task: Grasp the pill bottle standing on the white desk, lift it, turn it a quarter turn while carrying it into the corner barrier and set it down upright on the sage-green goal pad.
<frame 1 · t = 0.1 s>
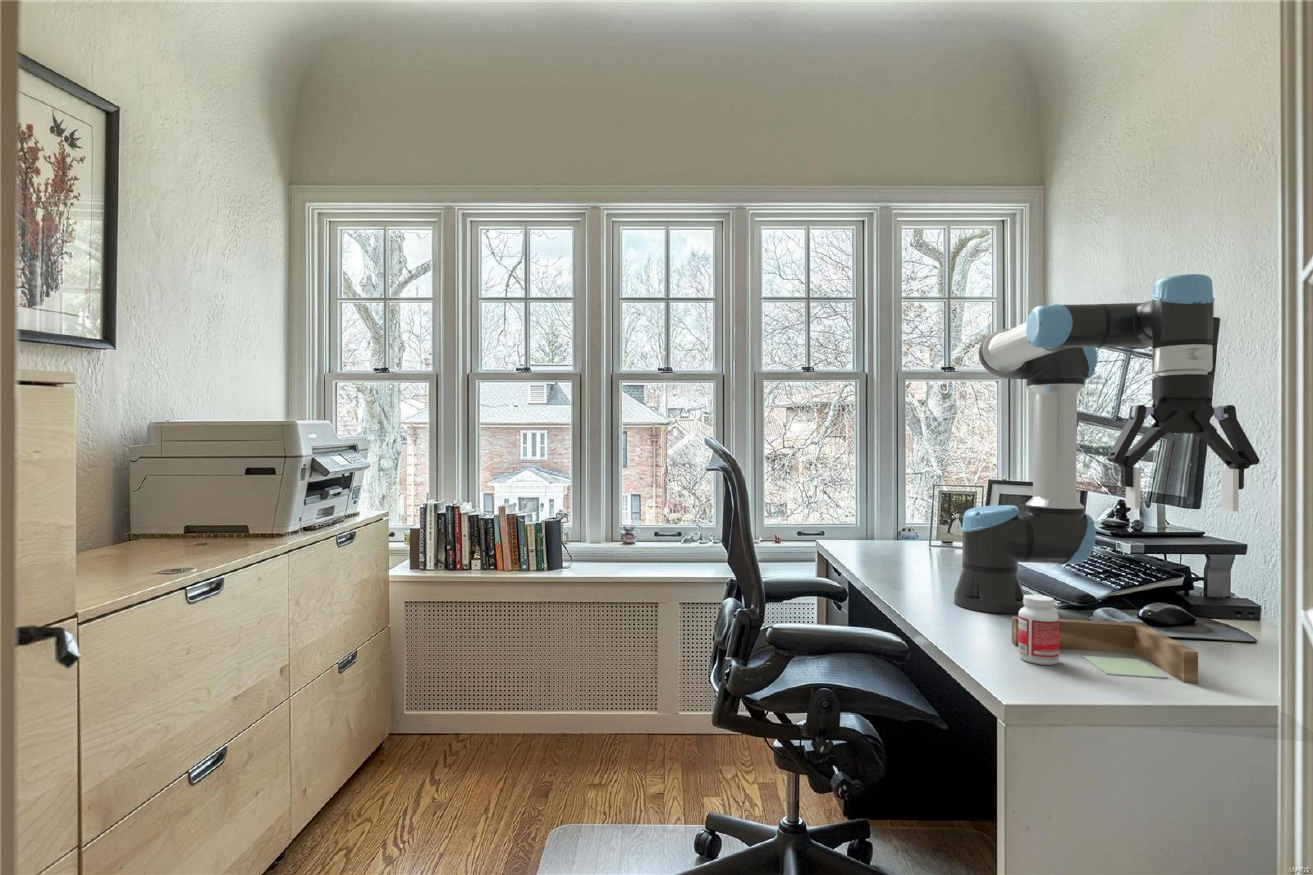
hand: (1180, 509, 104), 28 cm above the table, fingers open, 13 cm apart
corner barrier: (1095, 660, 117), on the table
goal pad: (1122, 667, 113), on the table
pill bottle: (1038, 661, 116), on the table
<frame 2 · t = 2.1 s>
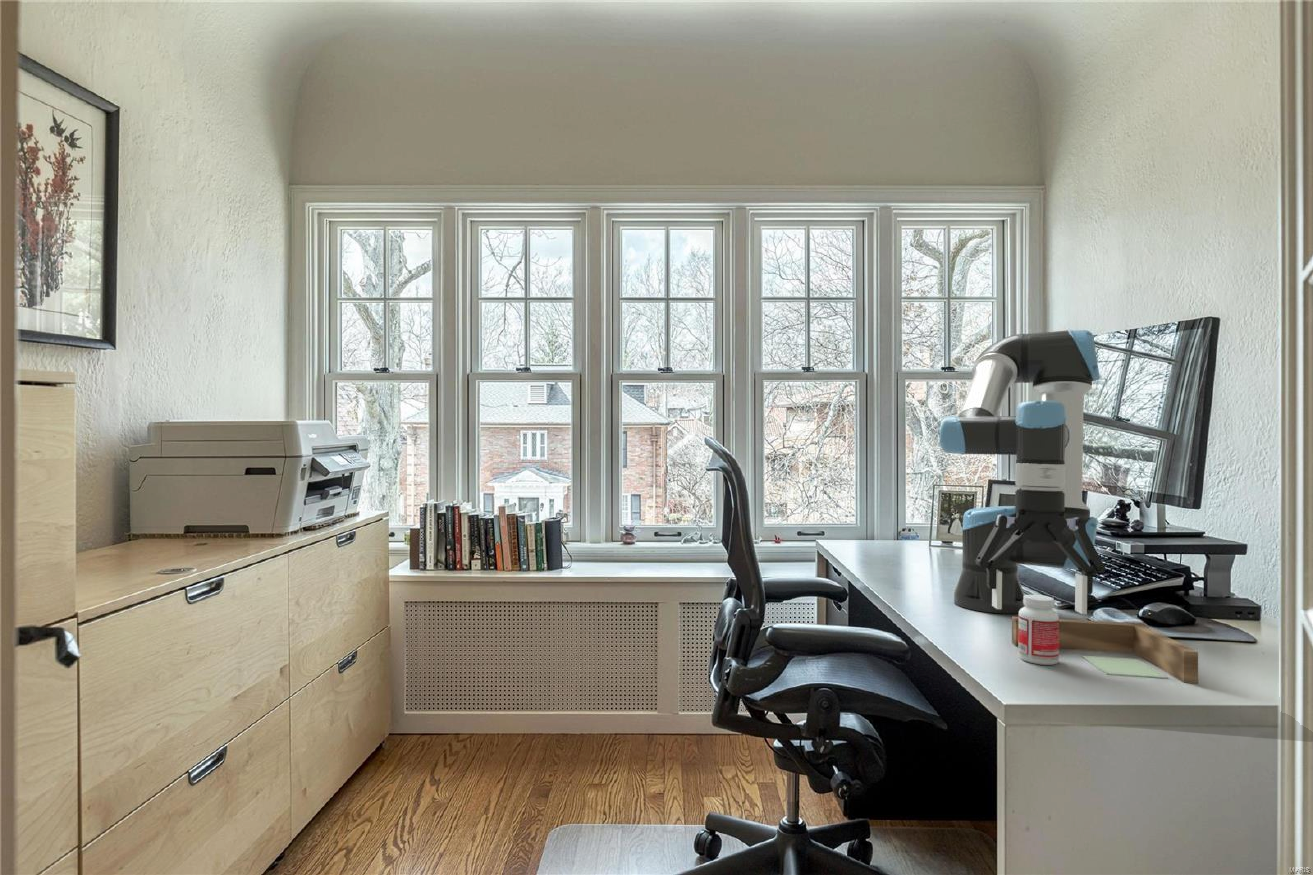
hand: (1038, 610, 116), 9 cm above the table, fingers open, 13 cm apart
nothing on the table moved.
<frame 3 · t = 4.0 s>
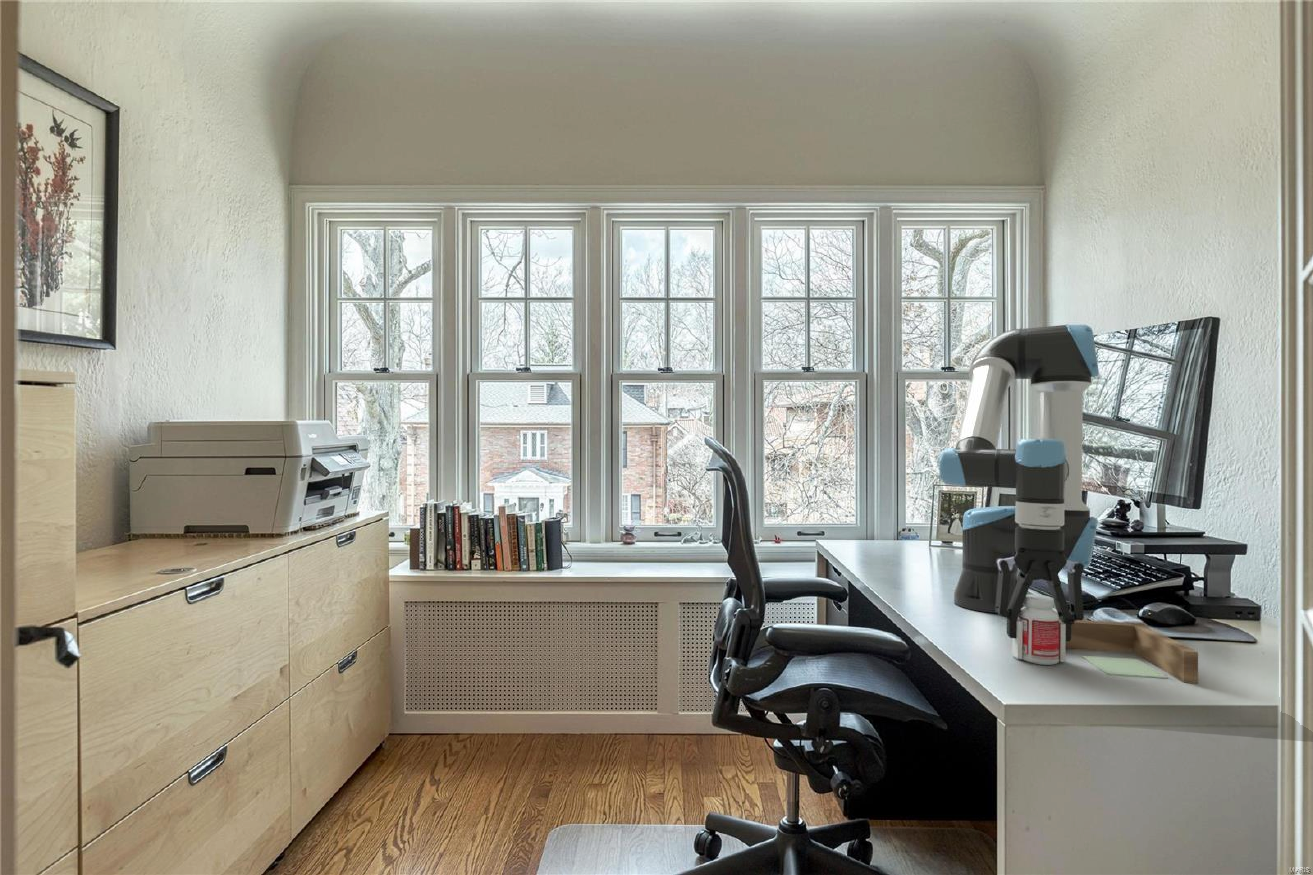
hand: (1038, 657, 116), 0 cm above the table, fingers closed on pill bottle, 6 cm apart
pill bottle: (1038, 661, 116), on the table, touching gripper
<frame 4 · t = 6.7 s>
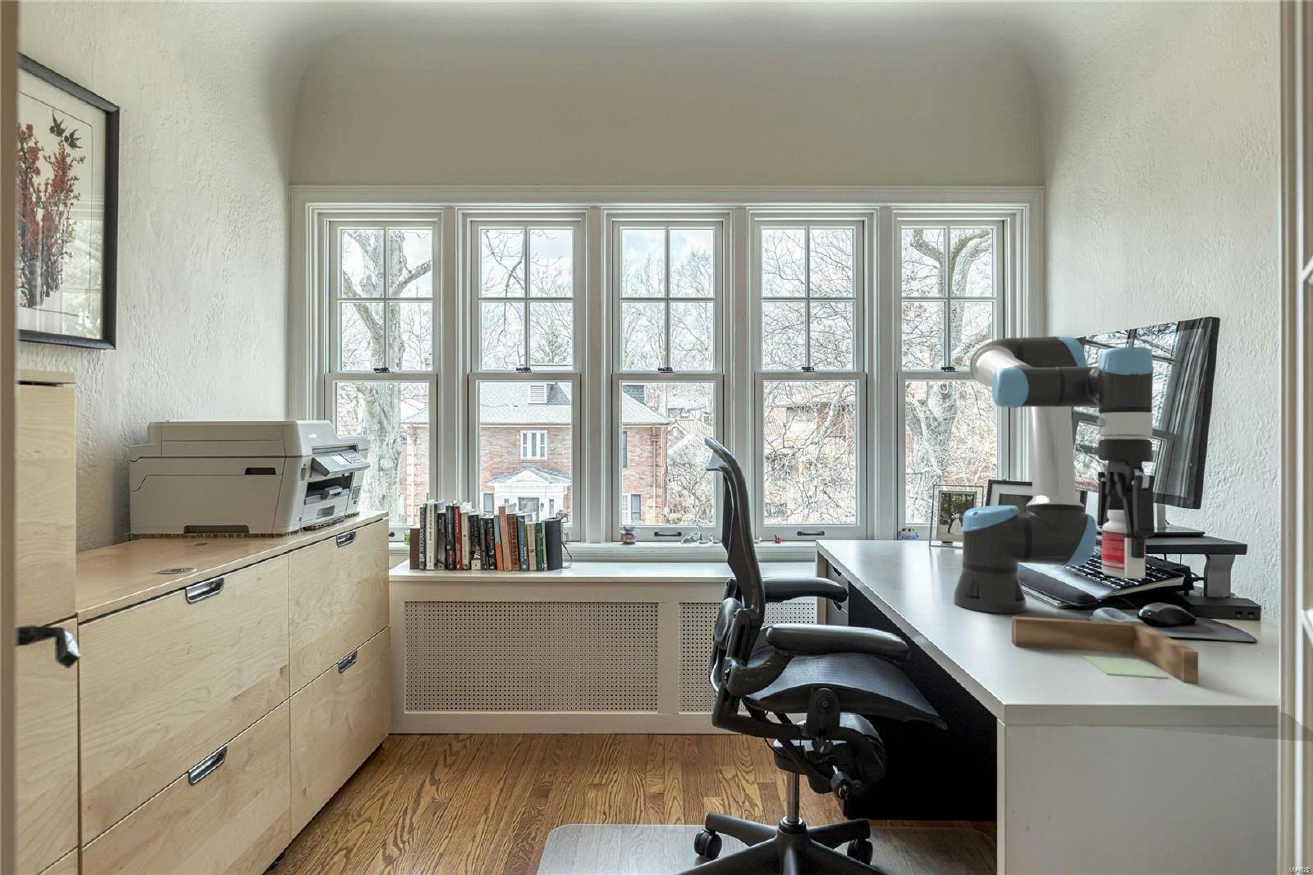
hand: (1123, 573, 113), 16 cm above the table, fingers closed on pill bottle, 6 cm apart
pill bottle: (1123, 576, 113), point 15 cm above the table, touching gripper
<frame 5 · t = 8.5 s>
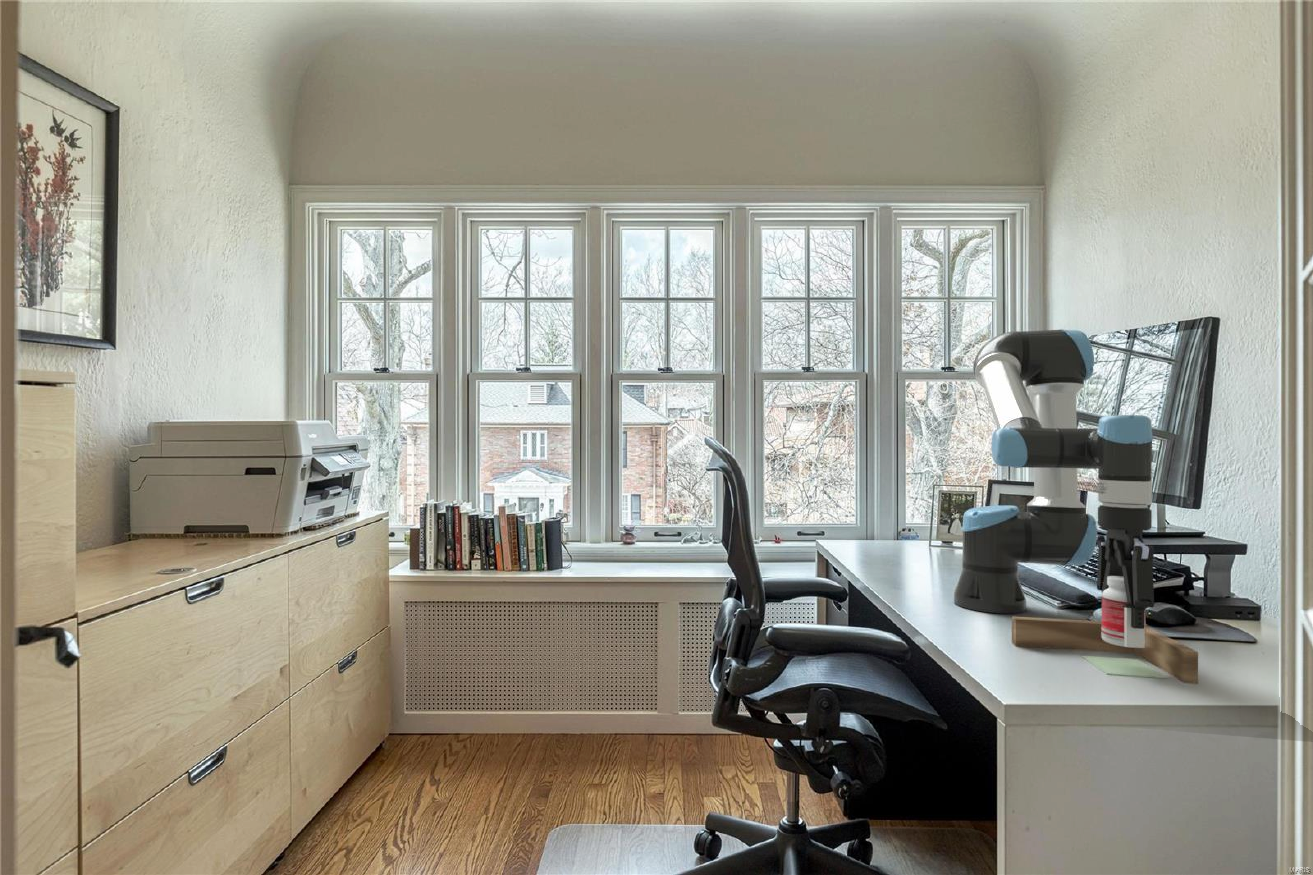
hand: (1123, 640, 113), 5 cm above the table, fingers closed on pill bottle, 6 cm apart
pill bottle: (1123, 644, 113), point 4 cm above the table, touching gripper
when the fingers open (2 cm above the table, at t = 9.8 s): pill bottle drops 1 cm, resting on goal pad.
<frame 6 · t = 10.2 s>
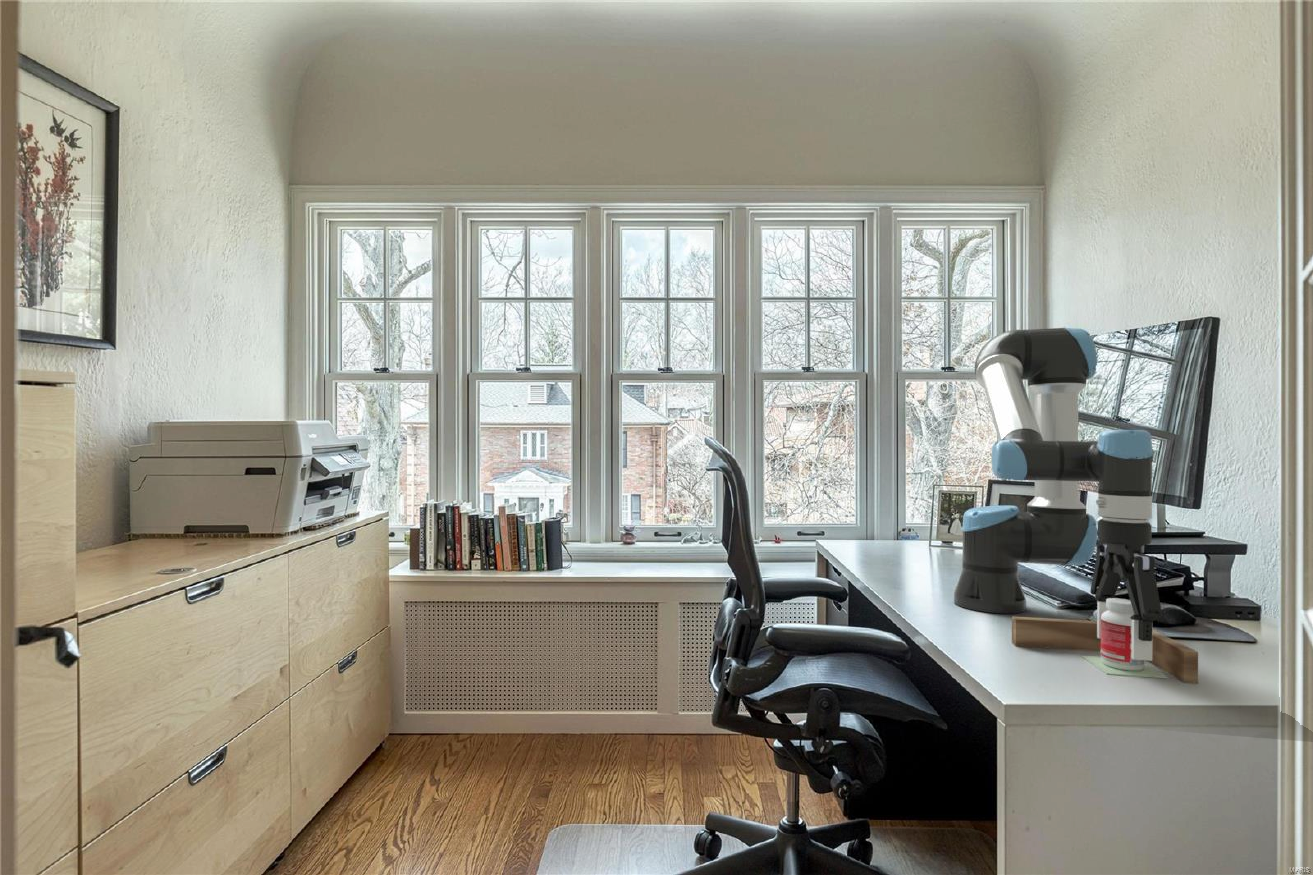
hand: (1123, 648, 113), 3 cm above the table, fingers open, 11 cm apart
pill bottle: (1122, 666, 113), resting on goal pad
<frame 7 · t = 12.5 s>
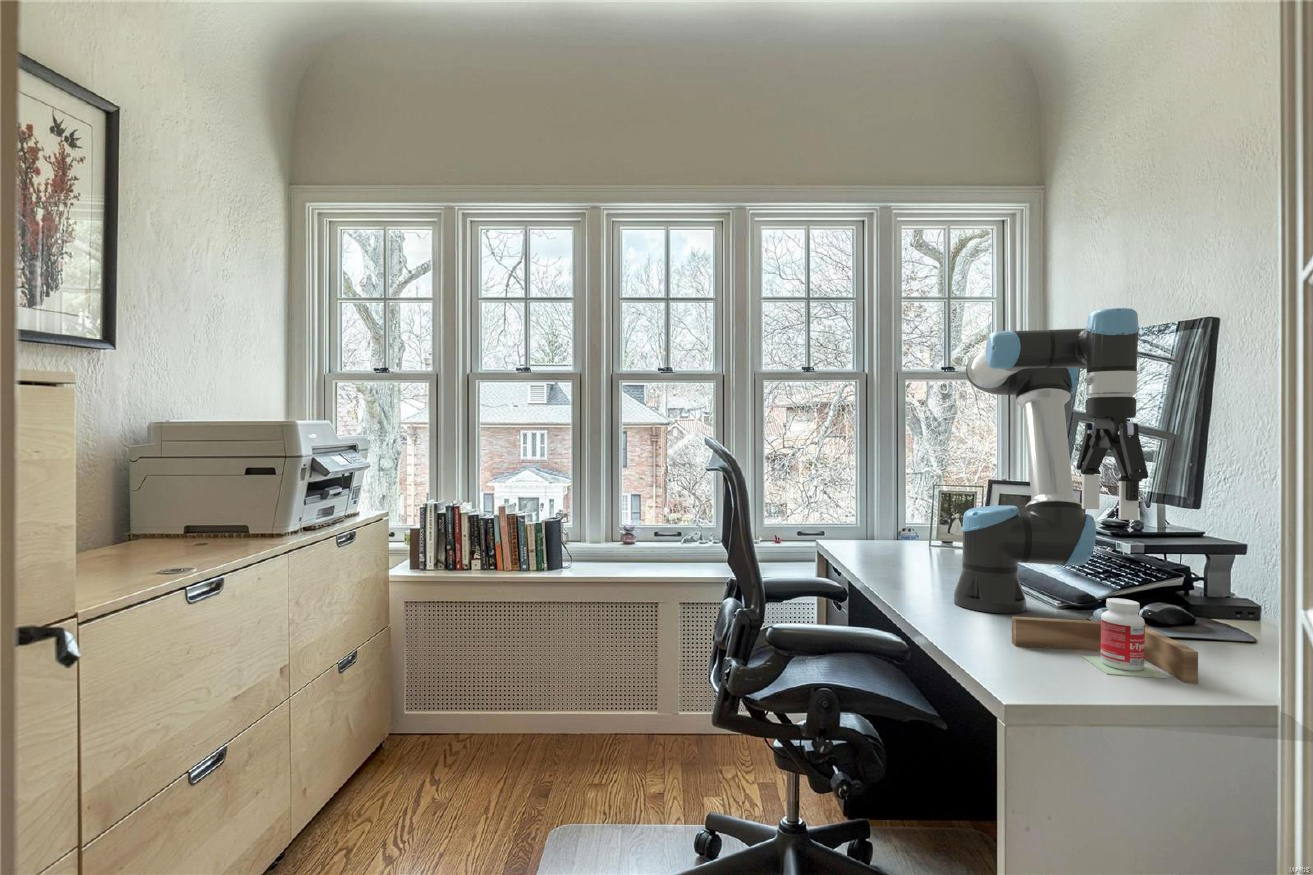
hand: (1108, 514, 119), 25 cm above the table, fingers open, 13 cm apart
nothing on the table moved.
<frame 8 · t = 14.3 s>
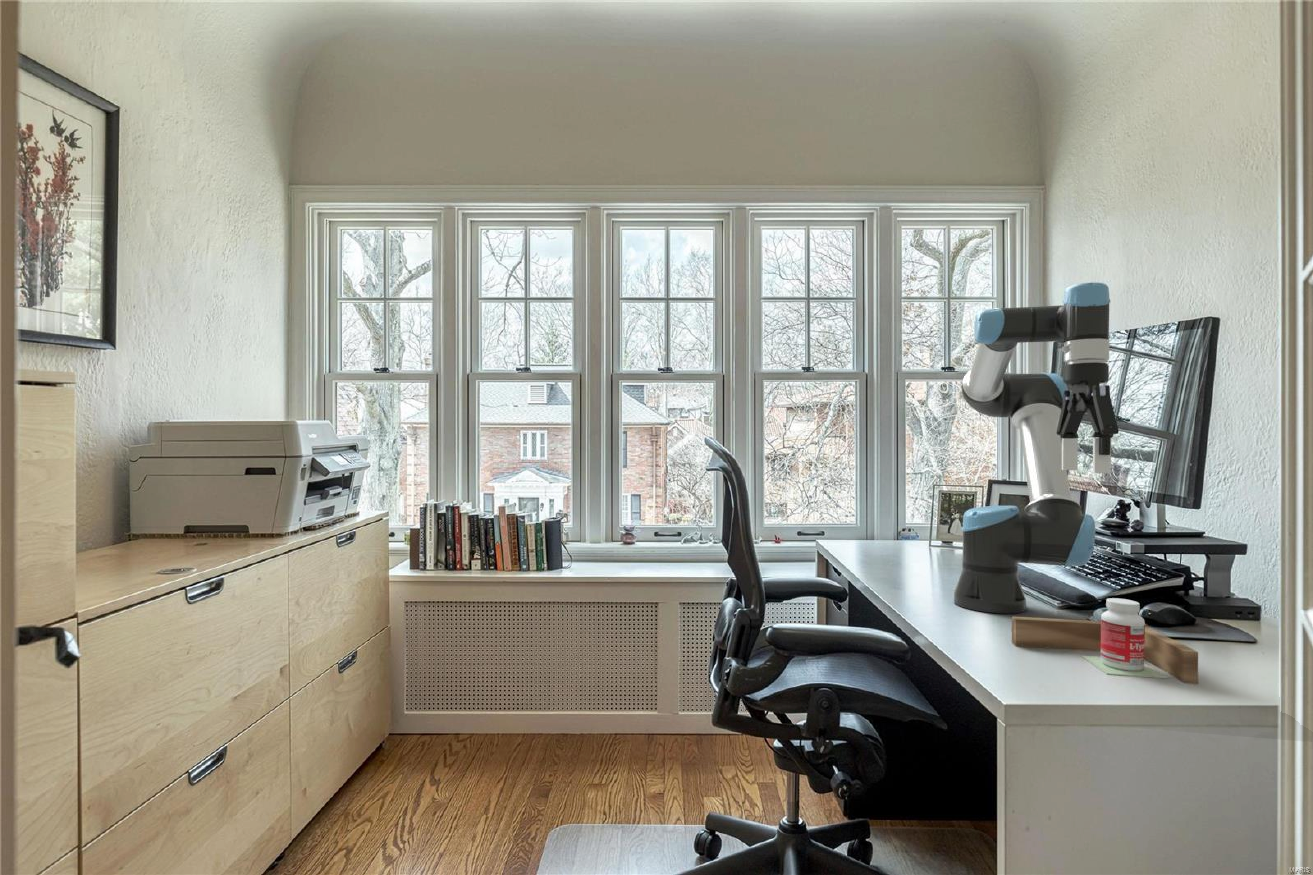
hand: (1084, 471, 130), 33 cm above the table, fingers open, 13 cm apart
nothing on the table moved.
at the end: pill bottle 0.2 cm from the goal pad (horizontally); pill bottle tilted 0°; pill bottle resting on goal pad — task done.
